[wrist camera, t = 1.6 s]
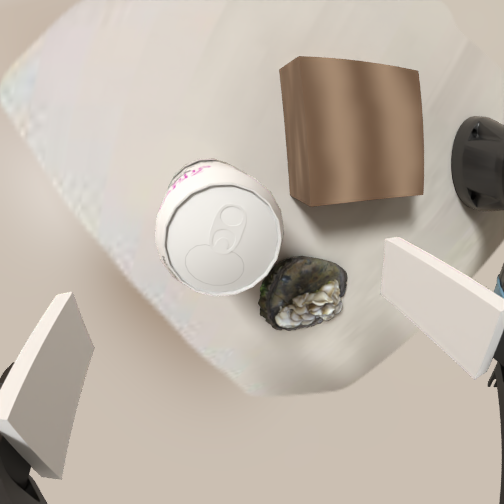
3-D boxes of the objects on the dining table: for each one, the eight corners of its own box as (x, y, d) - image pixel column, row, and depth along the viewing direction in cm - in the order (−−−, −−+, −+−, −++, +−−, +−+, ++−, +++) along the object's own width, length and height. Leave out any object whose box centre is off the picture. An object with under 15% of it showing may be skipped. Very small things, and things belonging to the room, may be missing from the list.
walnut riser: (387, 76, 30) (418, 71, 25) (392, 185, 36) (423, 194, 30) (279, 69, 28) (298, 56, 23) (290, 195, 33) (310, 206, 28)
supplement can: (230, 243, 34) (263, 315, 20) (157, 222, 31) (138, 286, 18) (256, 173, 32) (311, 199, 18) (181, 147, 29) (176, 153, 16)
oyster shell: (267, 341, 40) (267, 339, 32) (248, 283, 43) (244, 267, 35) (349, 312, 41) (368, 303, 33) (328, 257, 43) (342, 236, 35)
